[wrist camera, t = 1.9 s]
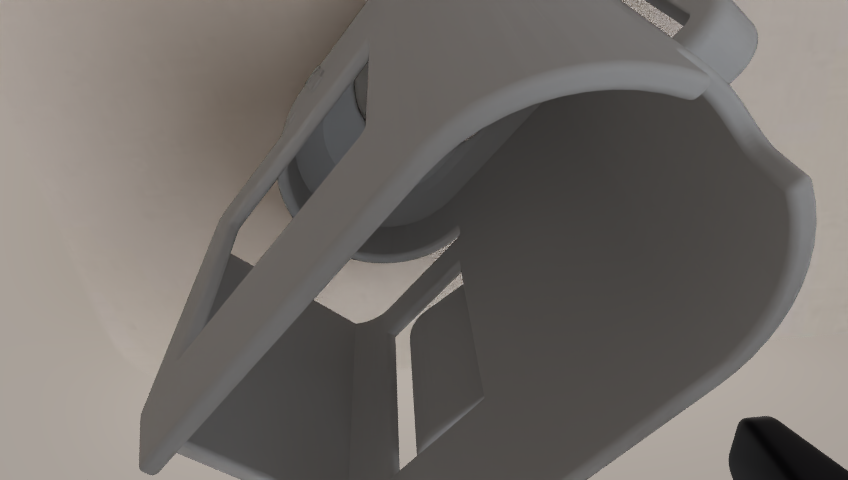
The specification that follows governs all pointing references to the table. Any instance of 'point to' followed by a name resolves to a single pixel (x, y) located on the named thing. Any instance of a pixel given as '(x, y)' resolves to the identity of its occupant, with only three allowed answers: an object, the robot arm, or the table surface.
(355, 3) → the table surface
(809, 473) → the robot arm
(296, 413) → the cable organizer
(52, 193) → the table surface
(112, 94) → the table surface
